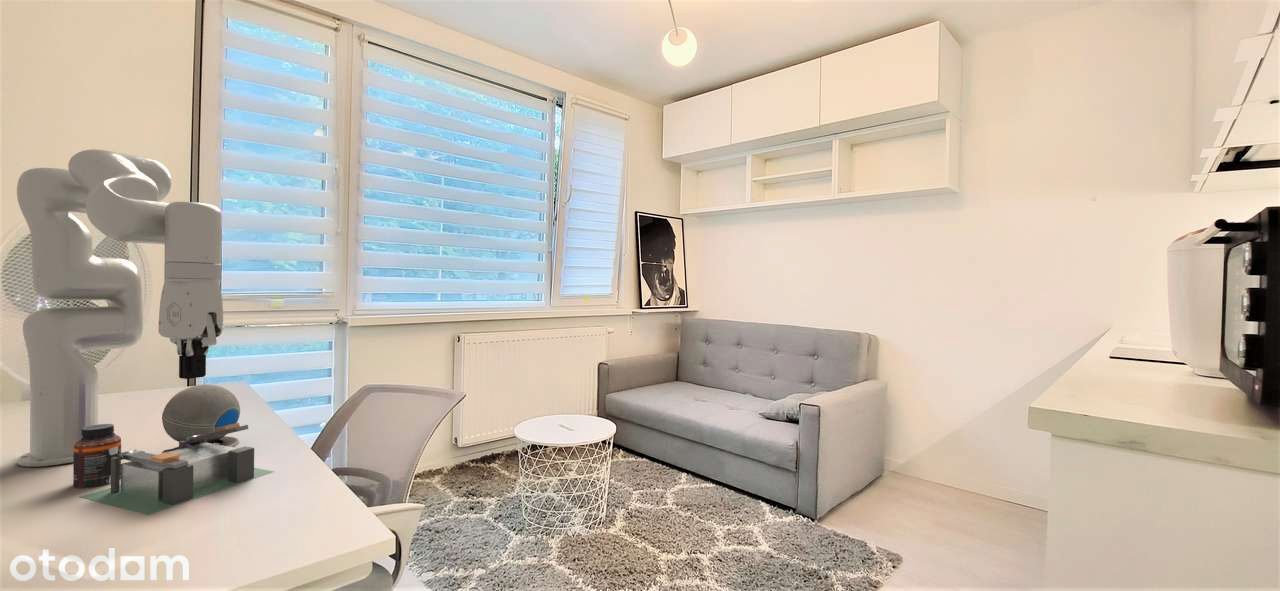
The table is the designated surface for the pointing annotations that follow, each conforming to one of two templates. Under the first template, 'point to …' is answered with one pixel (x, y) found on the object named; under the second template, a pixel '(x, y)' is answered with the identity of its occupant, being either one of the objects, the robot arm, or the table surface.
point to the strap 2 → (217, 432)
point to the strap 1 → (154, 459)
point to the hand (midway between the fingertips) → (192, 377)
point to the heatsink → (203, 457)
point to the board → (155, 504)
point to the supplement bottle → (95, 456)
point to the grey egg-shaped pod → (201, 414)
